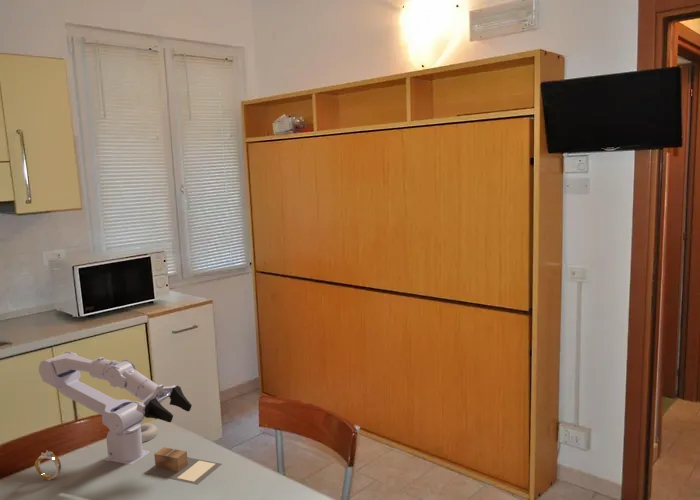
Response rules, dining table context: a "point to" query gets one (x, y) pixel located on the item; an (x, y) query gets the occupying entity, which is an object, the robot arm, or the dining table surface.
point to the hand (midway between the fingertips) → (181, 413)
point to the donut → (148, 432)
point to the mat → (187, 471)
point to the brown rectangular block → (171, 459)
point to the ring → (52, 457)
